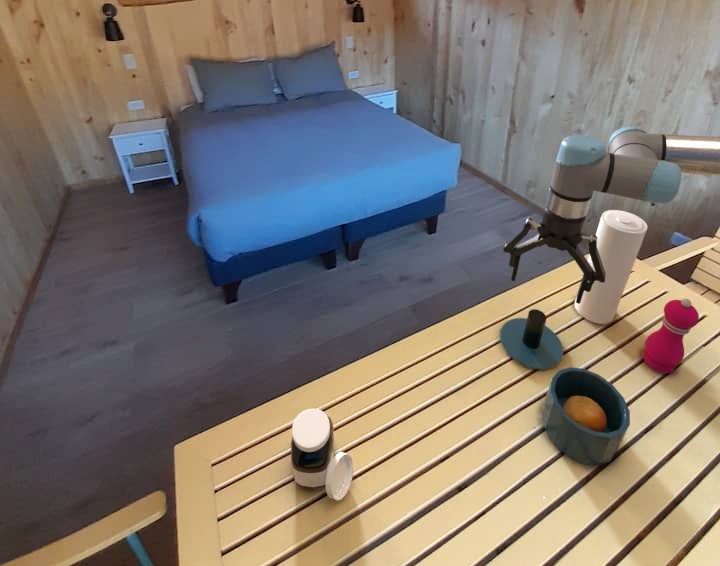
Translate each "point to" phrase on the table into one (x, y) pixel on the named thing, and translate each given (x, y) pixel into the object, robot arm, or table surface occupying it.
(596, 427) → the fruit
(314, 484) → the spread jar
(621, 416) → the pot
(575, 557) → the table surface
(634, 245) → the cylinder container
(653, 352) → the pepper mill
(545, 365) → the lid
